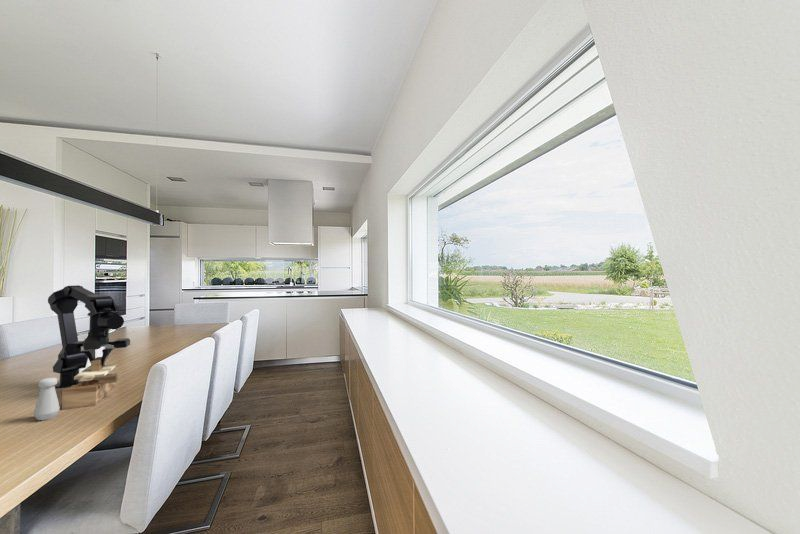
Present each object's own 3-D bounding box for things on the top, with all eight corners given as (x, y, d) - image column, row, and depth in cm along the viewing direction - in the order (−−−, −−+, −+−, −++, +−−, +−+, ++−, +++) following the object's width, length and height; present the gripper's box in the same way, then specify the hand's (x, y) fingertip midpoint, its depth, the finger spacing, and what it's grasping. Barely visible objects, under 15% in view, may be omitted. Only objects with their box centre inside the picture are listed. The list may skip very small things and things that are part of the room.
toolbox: (88, 388, 131) (88, 371, 131) (116, 385, 135) (117, 369, 135) (61, 409, 112) (62, 390, 112) (95, 405, 116) (96, 386, 116)
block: (100, 382, 122) (101, 375, 122) (117, 380, 124) (117, 374, 124) (98, 384, 119) (98, 377, 119) (115, 382, 122) (115, 376, 122)
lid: (89, 370, 131) (89, 356, 131) (116, 368, 135) (116, 354, 135) (69, 384, 116) (70, 368, 116) (101, 381, 120) (101, 365, 120)
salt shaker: (41, 423, 102) (43, 382, 102) (28, 420, 103) (29, 380, 103) (64, 414, 108) (65, 376, 108) (51, 413, 109) (52, 375, 109)
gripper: (57, 332, 117) (55, 375, 117) (122, 329, 125) (121, 369, 125) (71, 327, 127) (70, 366, 127) (131, 324, 135) (129, 361, 135)
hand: (98, 366), depth 128 cm, fingers closed on lid, 2 cm apart
